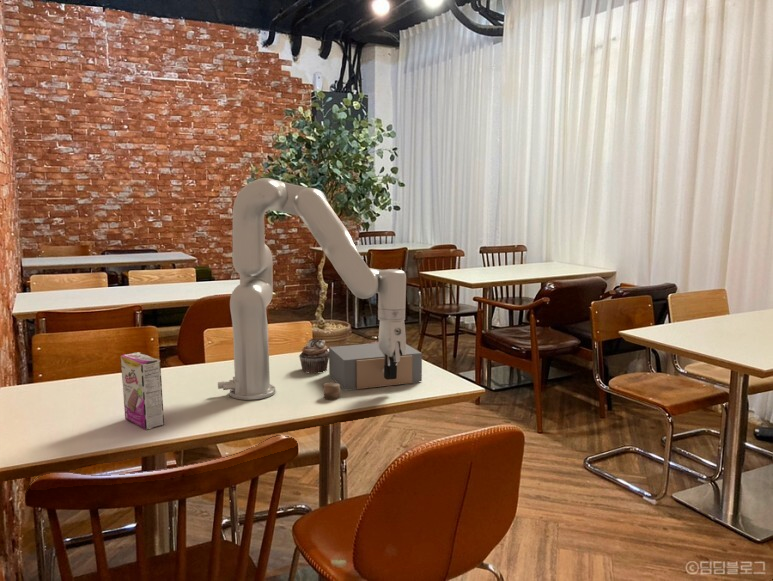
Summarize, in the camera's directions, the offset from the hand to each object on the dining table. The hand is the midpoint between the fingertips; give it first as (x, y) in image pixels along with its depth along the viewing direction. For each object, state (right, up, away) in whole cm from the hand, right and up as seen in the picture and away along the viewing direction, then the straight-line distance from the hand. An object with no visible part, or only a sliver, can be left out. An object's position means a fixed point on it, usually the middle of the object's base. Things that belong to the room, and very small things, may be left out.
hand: (390, 378), depth 170 cm
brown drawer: (-4, -2, +13) cm, 14 cm away
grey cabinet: (-5, -2, +14) cm, 15 cm away
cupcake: (-24, -1, +24) cm, 34 cm away
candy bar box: (-60, -8, -22) cm, 65 cm away
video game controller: (-5, +1, +38) cm, 38 cm away
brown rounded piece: (-16, -5, -3) cm, 17 cm away
